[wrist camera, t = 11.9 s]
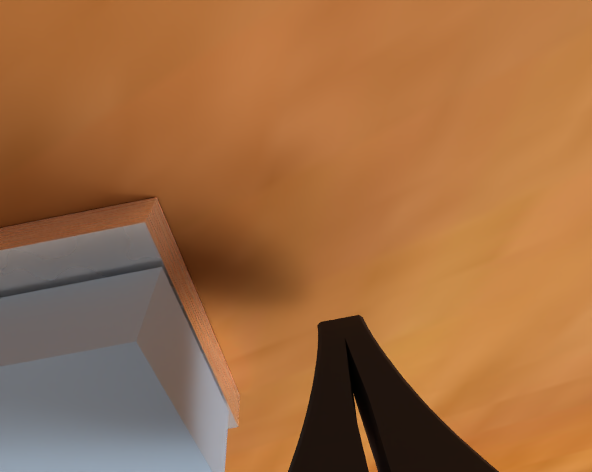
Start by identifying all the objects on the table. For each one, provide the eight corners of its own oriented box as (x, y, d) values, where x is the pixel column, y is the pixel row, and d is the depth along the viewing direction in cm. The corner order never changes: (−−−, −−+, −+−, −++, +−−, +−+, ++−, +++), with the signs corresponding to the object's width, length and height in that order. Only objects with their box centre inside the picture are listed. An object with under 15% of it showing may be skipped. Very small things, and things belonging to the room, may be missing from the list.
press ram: (228, 411, 15) (223, 489, 13) (20, 449, 15) (-23, 533, 13) (161, 267, 11) (136, 341, 9) (-117, 319, 11) (-214, 406, 9)
